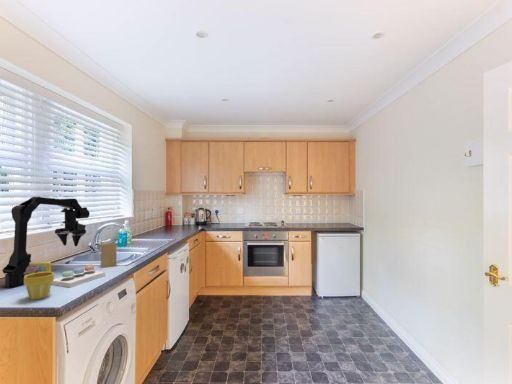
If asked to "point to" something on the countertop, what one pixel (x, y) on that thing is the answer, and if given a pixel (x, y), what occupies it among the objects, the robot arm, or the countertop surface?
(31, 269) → the candy box
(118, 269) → the countertop surface
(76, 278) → the button board
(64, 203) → the robot arm
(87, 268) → the terracotta button
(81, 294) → the countertop surface
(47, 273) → the plant pot
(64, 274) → the sage button
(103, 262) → the sandwich container
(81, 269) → the slate button
